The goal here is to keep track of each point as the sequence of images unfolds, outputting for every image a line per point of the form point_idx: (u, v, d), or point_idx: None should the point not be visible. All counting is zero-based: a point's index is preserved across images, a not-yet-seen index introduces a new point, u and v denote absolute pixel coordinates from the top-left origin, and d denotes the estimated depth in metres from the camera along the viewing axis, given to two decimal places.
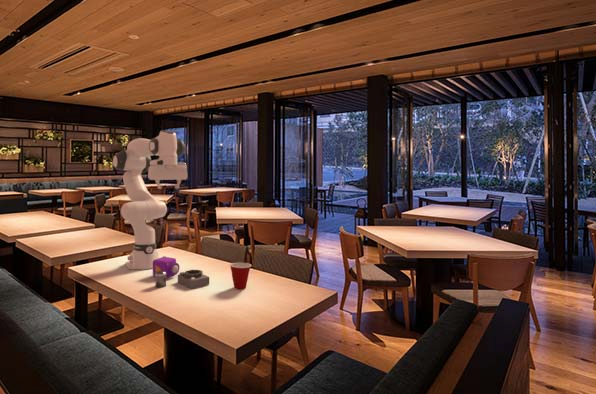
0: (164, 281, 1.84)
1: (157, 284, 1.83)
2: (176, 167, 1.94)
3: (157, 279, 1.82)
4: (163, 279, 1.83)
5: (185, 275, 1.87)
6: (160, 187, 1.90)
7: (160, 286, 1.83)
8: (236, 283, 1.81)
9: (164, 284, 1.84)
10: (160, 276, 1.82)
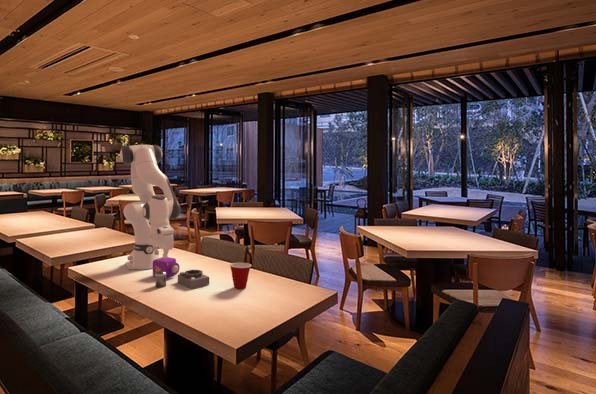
0: (164, 281, 1.84)
1: (157, 284, 1.83)
2: None
3: (157, 279, 1.82)
4: (163, 279, 1.83)
5: (185, 275, 1.87)
6: None
7: (160, 286, 1.83)
8: (236, 283, 1.81)
9: (164, 284, 1.84)
10: (160, 276, 1.82)
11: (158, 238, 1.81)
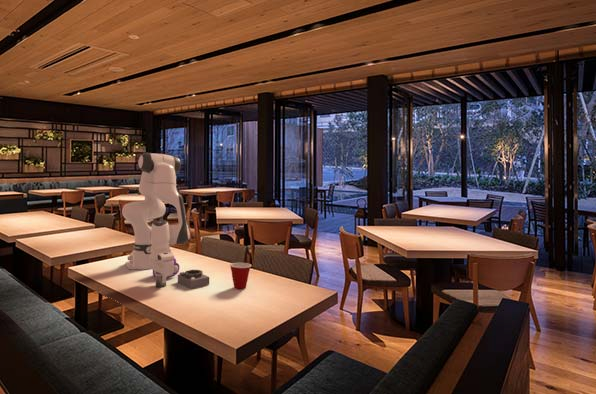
0: None
1: (157, 284, 1.83)
2: None
3: (157, 279, 1.82)
4: None
5: (185, 275, 1.87)
6: None
7: (160, 286, 1.83)
8: (236, 283, 1.81)
9: (164, 284, 1.84)
10: (160, 276, 1.82)
11: (158, 263, 1.82)
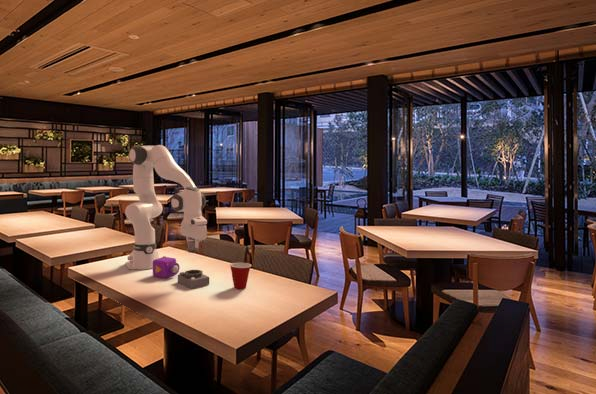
0: None
1: (190, 249, 1.86)
2: None
3: (190, 244, 1.86)
4: None
5: (185, 275, 1.87)
6: None
7: (193, 251, 1.86)
8: (236, 283, 1.81)
9: (196, 249, 1.87)
10: (193, 241, 1.86)
11: (191, 229, 1.85)
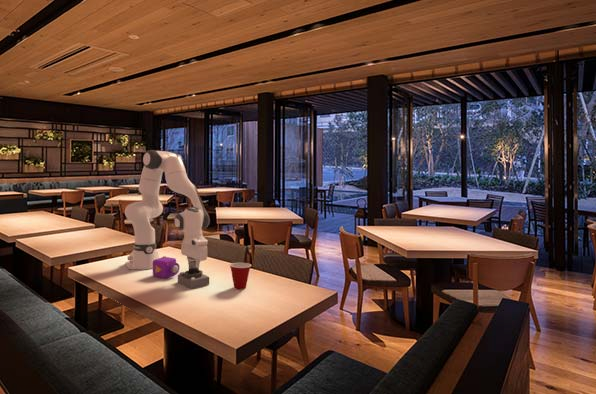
0: None
1: (190, 269, 1.87)
2: None
3: (190, 264, 1.87)
4: None
5: (185, 275, 1.87)
6: None
7: (193, 271, 1.87)
8: (236, 283, 1.81)
9: (197, 269, 1.88)
10: (193, 261, 1.87)
11: (192, 249, 1.86)
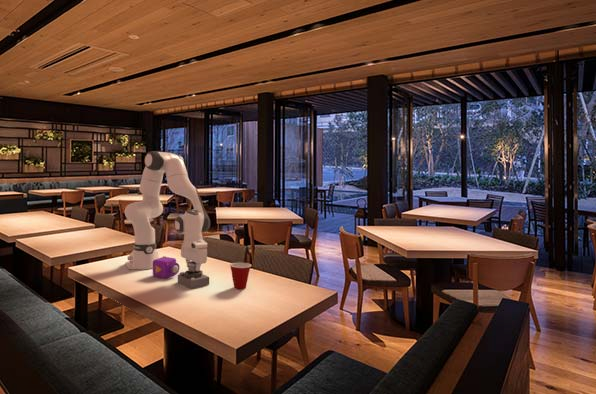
0: (197, 271, 1.88)
1: None
2: None
3: (190, 269, 1.87)
4: None
5: (185, 275, 1.87)
6: None
7: None
8: (236, 283, 1.81)
9: None
10: (193, 266, 1.87)
11: (191, 251, 1.87)
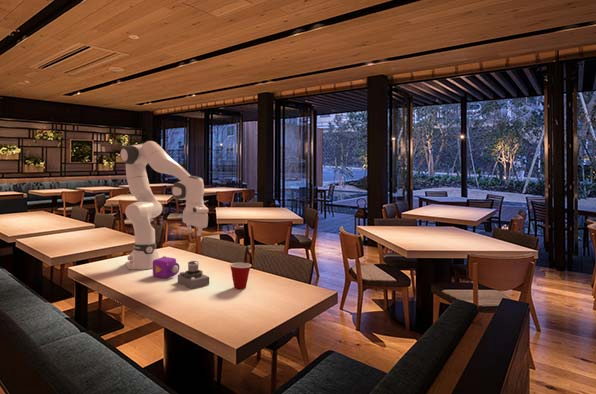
0: (197, 271, 1.88)
1: None
2: None
3: (190, 269, 1.87)
4: (196, 269, 1.88)
5: (185, 275, 1.87)
6: None
7: None
8: (236, 283, 1.81)
9: None
10: (193, 266, 1.87)
11: (193, 216, 1.90)
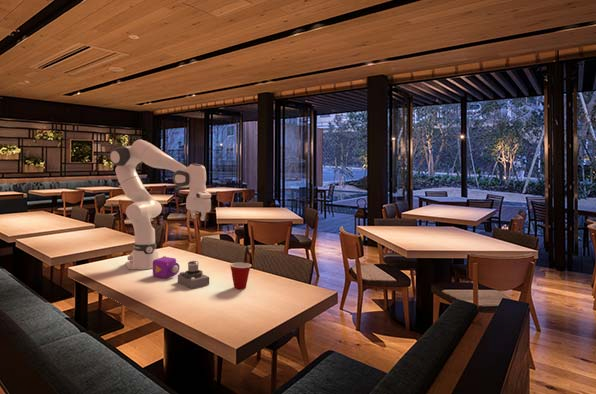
0: (197, 271, 1.88)
1: None
2: None
3: (190, 269, 1.87)
4: (196, 269, 1.88)
5: (185, 275, 1.87)
6: None
7: None
8: (236, 283, 1.81)
9: None
10: (193, 266, 1.87)
11: (196, 202, 1.99)
